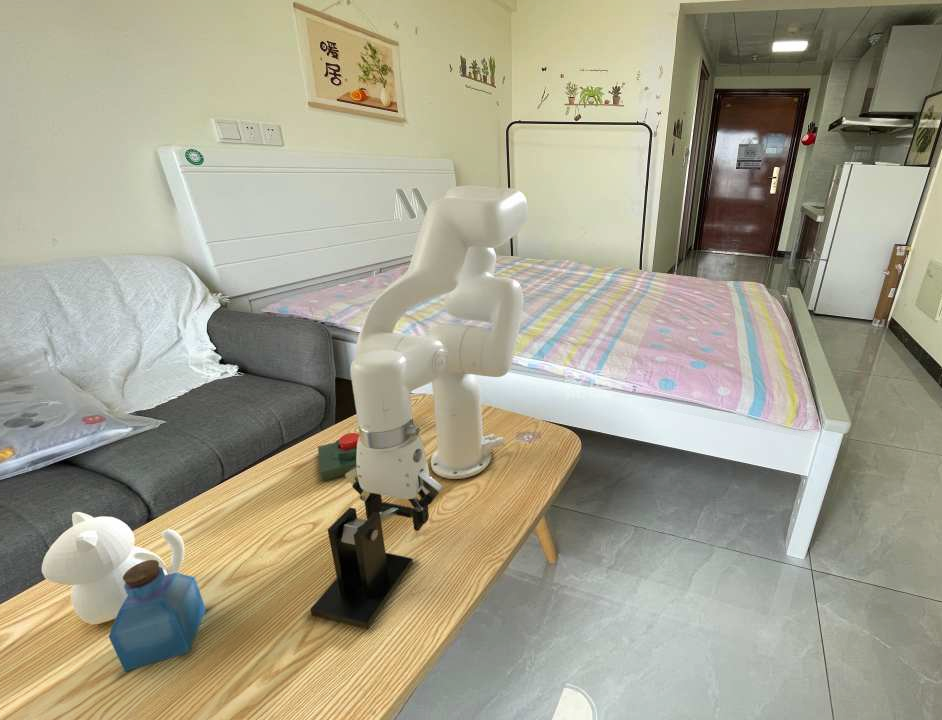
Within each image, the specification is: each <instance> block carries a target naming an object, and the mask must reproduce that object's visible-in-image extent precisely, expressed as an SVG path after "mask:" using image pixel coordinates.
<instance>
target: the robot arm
mask: <svg viewBox="0 0 942 720" xmlns="http://www.w3.org/2000/svg"><path fill="white" fill-rule="evenodd" d="M528 214H529V206H528V201H527V198H526V196H525V194H524V193H522V191H520V190H519V189H517V188H512V187H495V186H482V185H458V186H454V187H451V188H449V189H448V190H447V191H446V193H445V195H444V197H441V198H437V199H435V200H433V201H432V202H431V203H430V204H429V205H428V207H427V209H426V212H425V214H424V218H423V221H422V224H421V227H420V232H419V233H418V236H417V241H416V243H415V247H414V250H413V254H412V256H411V259H410V263H409V266H408V269H407V270H406V271H405V273H404V274H403V275H401V276H400V277H398V278H397V279H396V280H395V281H393V282H392V283H391V284H390V285H388V286H387V287H386V288H385V289H384V290H383V291H382V292H381V293H380V294H379V295H378V296H377V297H376V298H375V300H374V301H373V302H372V303H371V304H370V306H369V308H368V309H367V311H366V313H365V315H364V318H363V321H362V324H361V327H360V330H359V333H358V335H357V336H358V337H357V340H356V344H355V349H354V350H355V351H354V359H353V360H352V362H351V364H350V368H349V369H350V377H351V385H352V393H353V399H354V406H355V411H356V419H357V425H358V432H359V433H358V434H360V436H359V438H358V443H357V454H356V461H357V466H356V467H354V468H352V469H351V470H349V471H348V472H347V473H346V474H345V475H344V476H345V478H346V480H348V482H349V483H350V484H352V488H353V490H354V491H356V492H357V493H358V494H359V500H360V501H362V502H364V508H365V515H366V520H368V519H369V517H370V516H371V515H372V514H373V513H374V512H375V513H381V512H380V511H379V508H380V505H381V504H382V503H383V499H382V498H383V497H382V496H386V497H391V498H397V499H403V500H408V502H409V503H410V504H411V506H412V508H414V510H413V512H412V516H413V517H412V525H413V530H414V531H415V532H419V531H420V530H421V529H422V527H423V526H424V525H425V524H426V523H427V522H428V520H429V519H430V513H429V512H430V511H429V505H431V504H432V503H433V502H434V500H435V499H436V498H437V497H438V495H439V494H440V493H441V492H442V490H443V489H444V487H443V485H441V484H440V483H439V482H438V481H436V480H435V479H434V478H432V476H430V470H429V463H428V458H427V454H426V450H425V446H424V443H423V440H422V438H421V436H420V433H421V428H420V427H419V426H416V425H415V423H414V418H413V409H412V399H411V398H412V397H411V394H412V393H411V392H413V391H414V390H417V389H420V388H421V387H423V386H426V385H428V384H431V386H432V396H433V410H434V423H435V435H436V446H437V449H436V450H435V451H434V453H433V454H432V456H431V458H430V467H431V469H432V471H433V472H434V473H435V474H436V475H437V476H439V477H441V478H444V479H448V480H449V479H451V480H459V479H460V480H461V479H466V478H470V477H473V476H475V475H476V476H477V474H479V473H481V472H483V471H484V470H485V469H486V468H487V467H488V466H489V464H490V463H491V460H492V454H491V451H492V449H494V448H498V447H502V446H505V445H506V443H505V442H506V441H505V438H504V437H503V436H499V437H496V436H495V434H494V433H492V434H488V435H484V434H483V432H484V431H483V408H482V387H481V384H480V380H479V379H478V376H481V377H490V378H500V377H503V376H506V375H507V374H508V373H509V371H510V370H511V368H512V365H513V362H514V357H515V353H516V349H517V344H518V337H519V332H520V328H521V322H522V318H523V312H524V303H525V300H524V299H525V298H524V291H523V288H522V285H521V284H520V283H519V281H517V280H515V279H513V278H511V277H506V276H496V275H495V269H496V263H497V254H496V251H495V249H496V248H500V247H502V246H503V245H505V244H506V243H507V242H509V241H510V240H511V239H512V238H513V237H514V236H516V235H517V234H519V232H520V231H521V230H522V229H523V228H524V226H525V224H526V221H527V218H528ZM440 296H444V301H443V305H444V309H445V311H446V313H447V314H448V315H449V316H450V317H453V318H455V319H460V320H464V321H472V322H482V323H489V324H492V327H486V326H476V325H470V324H461V323H442V324H441V323H440V324H438V325H435V326H433V327H432V328H430V330H428V332H427V333H426V335H425V336H421V335H414V334H407V333H401V332H400V333H399V332H394V330H395V328H396V325H397V323H398V322H399V320H400V319H401V318H402V316H403V315H404V314H405V313H407V312H408V311H409V310H411V309H412V308H414V307H416V306H418V305H419V304H421V303H425V302H427V301H429V300H432V299H435V298H438V297H440ZM417 496H419V497H420V499H419V498H418V497H417Z"/></svg>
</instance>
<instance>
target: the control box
mask: <svg viewBox="0 0 942 720" xmlns="http://www.w3.org/2000/svg"><path fill="white" fill-rule="evenodd" d="M358 434H359V435H360V433H358ZM317 452H318V461H319V471H320V478H321V481H322V482H326V481H329V480H334V479H336V478H340V477H343V476H345V474H346V473H347V472H348V471H349V470H351V469H352V468H354V467H356V466H357V461H356V454H357V447H356V448H354V449H350V450H342V449H341V448H340V445H339V439H337V440H335V441H334V442H331V443H327V444H323V445H318V446H317Z"/></svg>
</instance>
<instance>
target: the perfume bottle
mask: <svg viewBox="0 0 942 720" xmlns="http://www.w3.org/2000/svg"><path fill="white" fill-rule="evenodd" d="M123 580H124V581H125V585H124V587H125V590H126V593H127V594H128V596H127V598H126V600H125V601H124V603H123V605H122V606H121V608H120V610H119V612H118V615H117V617H116V618H115V619H114V622H113V625H112V627H111V630H110V632H109V634H108V638H109V641H110V643H111V645H112V647H113V649H114V651H115V654H116V656H117V658H118V660H119V663H120V664H121V667H122V669H123V671H124V672H129V671H132V670H135V669H138V668H141V667H144V666H148V665H151V664H152V665H153V664H155V663H158V662H162V661H165V660H167V659H172V658H174V657H178V656H181V655H185V654H188V653H190V650H191V648H192V645H193V643H194V641H195V638H196V635H197V633H198V630H199V629H200V627H201V623H202V621H203V619H204V616H205V613H206V611H207V609H206V605H205V603H204V600H203V597H202V595H201V592H200V589H199V586H198V582H197V580H196V577H195V576H191V575H188V574H183V573H179V572H177V573H173V574H169V575H165V574H164V571H163V569H162V568H161V567H159V563H158V561H156V560H147V561H144V562H141V563H139V564H137V565H135V566H133V567H132V568H130V569H129V570H128V571H127V572H126V573H125V574H124V576H123Z"/></svg>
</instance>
